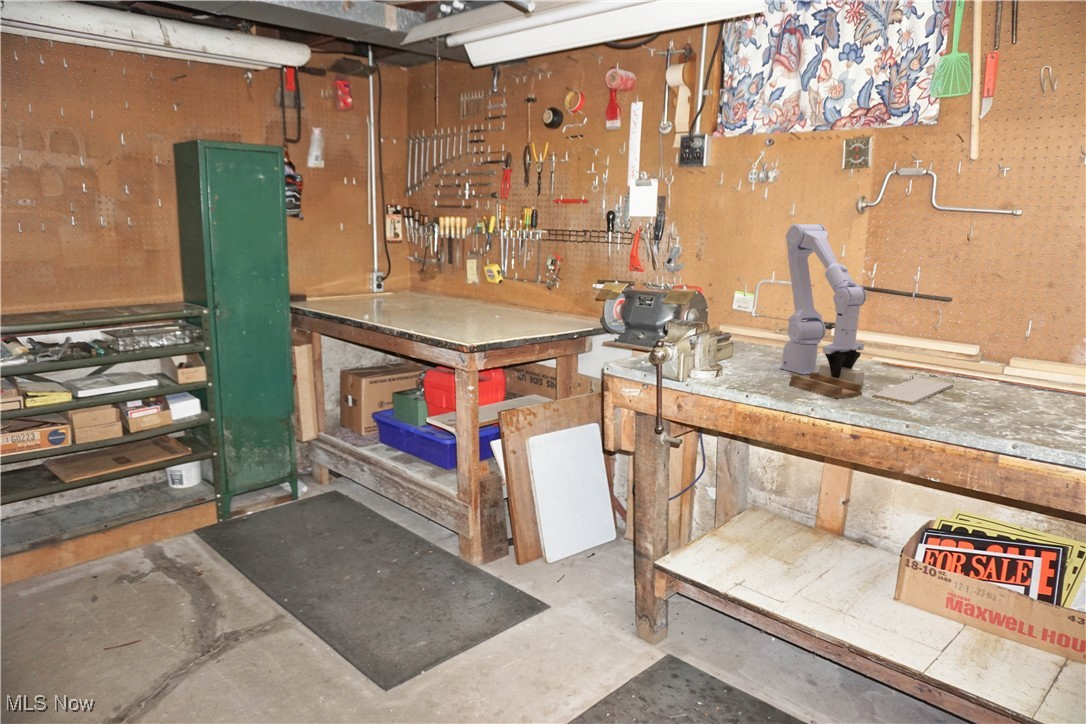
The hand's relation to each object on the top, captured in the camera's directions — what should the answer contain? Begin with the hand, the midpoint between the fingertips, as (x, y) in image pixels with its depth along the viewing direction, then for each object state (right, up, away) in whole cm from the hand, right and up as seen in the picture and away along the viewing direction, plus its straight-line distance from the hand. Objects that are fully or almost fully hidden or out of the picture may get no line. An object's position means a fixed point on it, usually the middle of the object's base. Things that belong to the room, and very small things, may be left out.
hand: (840, 376), depth 195 cm
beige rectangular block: (0, -2, 0) cm, 2 cm away
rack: (-8, -3, -8) cm, 12 cm away
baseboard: (+16, -5, -7) cm, 18 cm away
